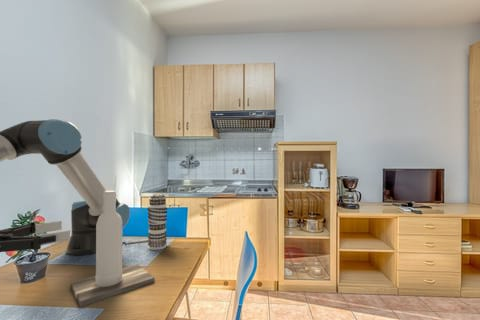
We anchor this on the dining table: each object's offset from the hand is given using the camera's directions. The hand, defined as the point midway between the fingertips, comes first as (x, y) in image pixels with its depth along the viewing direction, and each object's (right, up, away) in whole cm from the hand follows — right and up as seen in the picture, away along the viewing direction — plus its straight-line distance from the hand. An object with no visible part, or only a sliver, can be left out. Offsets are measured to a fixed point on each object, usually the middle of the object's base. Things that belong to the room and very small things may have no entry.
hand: (65, 229), depth 77 cm
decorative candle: (+13, -21, +45) cm, 51 cm away
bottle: (+9, -19, +7) cm, 23 cm away
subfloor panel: (+10, -21, +9) cm, 25 cm away
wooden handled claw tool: (+5, -21, +51) cm, 55 cm away
